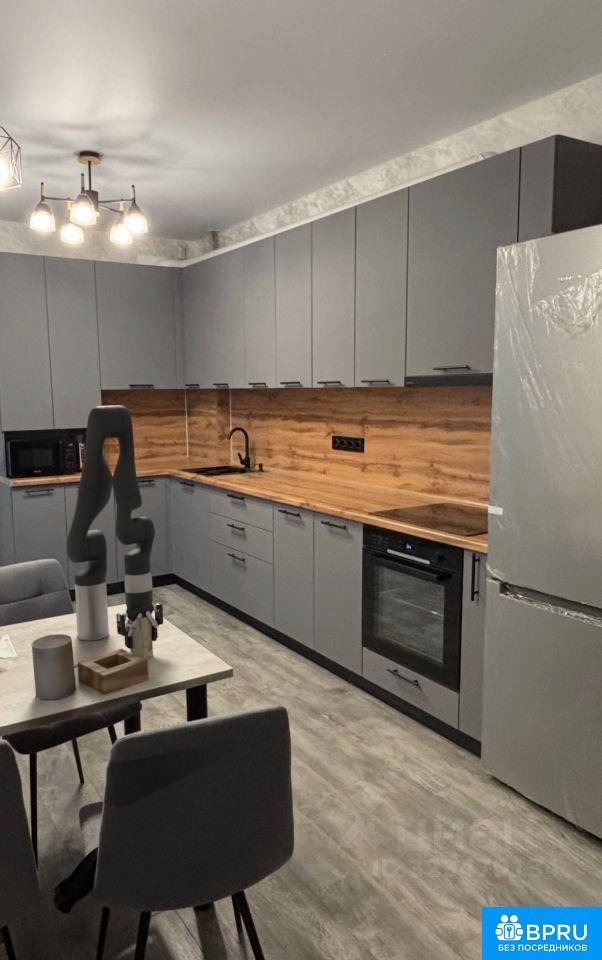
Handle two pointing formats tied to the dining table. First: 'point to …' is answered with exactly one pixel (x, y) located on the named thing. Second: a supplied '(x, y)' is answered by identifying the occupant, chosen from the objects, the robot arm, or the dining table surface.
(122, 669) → the socket block
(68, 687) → the pillar candle
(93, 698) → the dining table surface
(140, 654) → the skincare box
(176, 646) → the dining table surface
